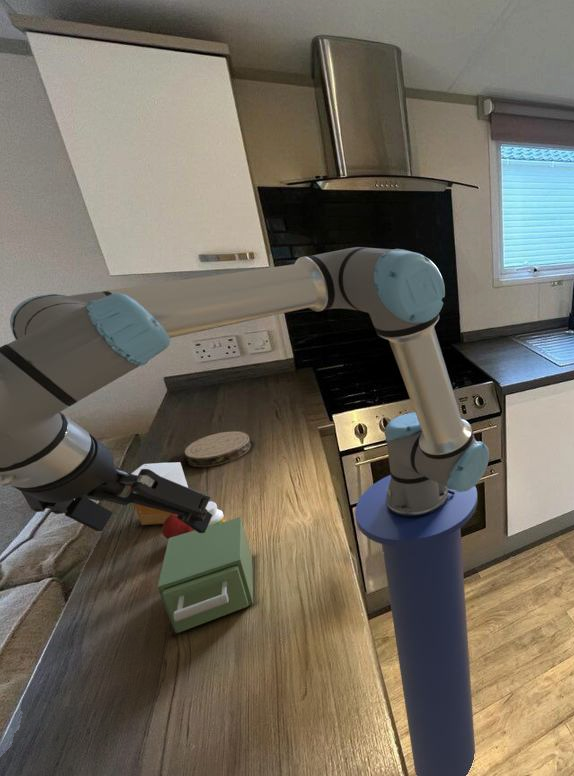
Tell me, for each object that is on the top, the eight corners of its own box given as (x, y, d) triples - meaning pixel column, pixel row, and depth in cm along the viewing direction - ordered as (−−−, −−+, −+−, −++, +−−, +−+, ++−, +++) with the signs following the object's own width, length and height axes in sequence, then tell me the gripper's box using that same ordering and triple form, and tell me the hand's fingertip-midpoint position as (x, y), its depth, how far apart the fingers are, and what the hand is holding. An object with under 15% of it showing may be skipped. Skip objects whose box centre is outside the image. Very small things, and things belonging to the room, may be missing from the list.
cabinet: (253, 603, 82) (240, 559, 78) (175, 633, 76) (157, 587, 72) (252, 557, 93) (241, 516, 89) (183, 580, 87) (168, 537, 83)
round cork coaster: (198, 473, 122) (195, 464, 121) (179, 454, 131) (176, 446, 130) (259, 450, 134) (257, 441, 133) (238, 434, 143) (236, 426, 142)
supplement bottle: (219, 552, 94) (208, 515, 91) (194, 552, 94) (182, 515, 91) (235, 535, 99) (225, 499, 96) (212, 535, 99) (200, 499, 96)
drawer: (248, 627, 76) (236, 588, 73) (173, 657, 71) (157, 617, 68) (248, 562, 90) (238, 528, 87) (185, 583, 85) (172, 547, 82)
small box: (141, 526, 102) (123, 478, 97) (160, 508, 107) (144, 463, 103) (178, 523, 102) (162, 476, 98) (195, 506, 108) (181, 461, 104)
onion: (166, 553, 94) (155, 522, 91) (168, 537, 98) (157, 508, 95) (200, 542, 97) (190, 512, 94) (200, 527, 101) (191, 498, 98)
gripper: (-113, 486, 44) (43, 547, 61) (158, 494, 47) (236, 550, 64) (-53, 422, 49) (77, 495, 65) (190, 433, 52) (255, 500, 69)
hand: (156, 522), depth 65 cm, fingers open, 13 cm apart
